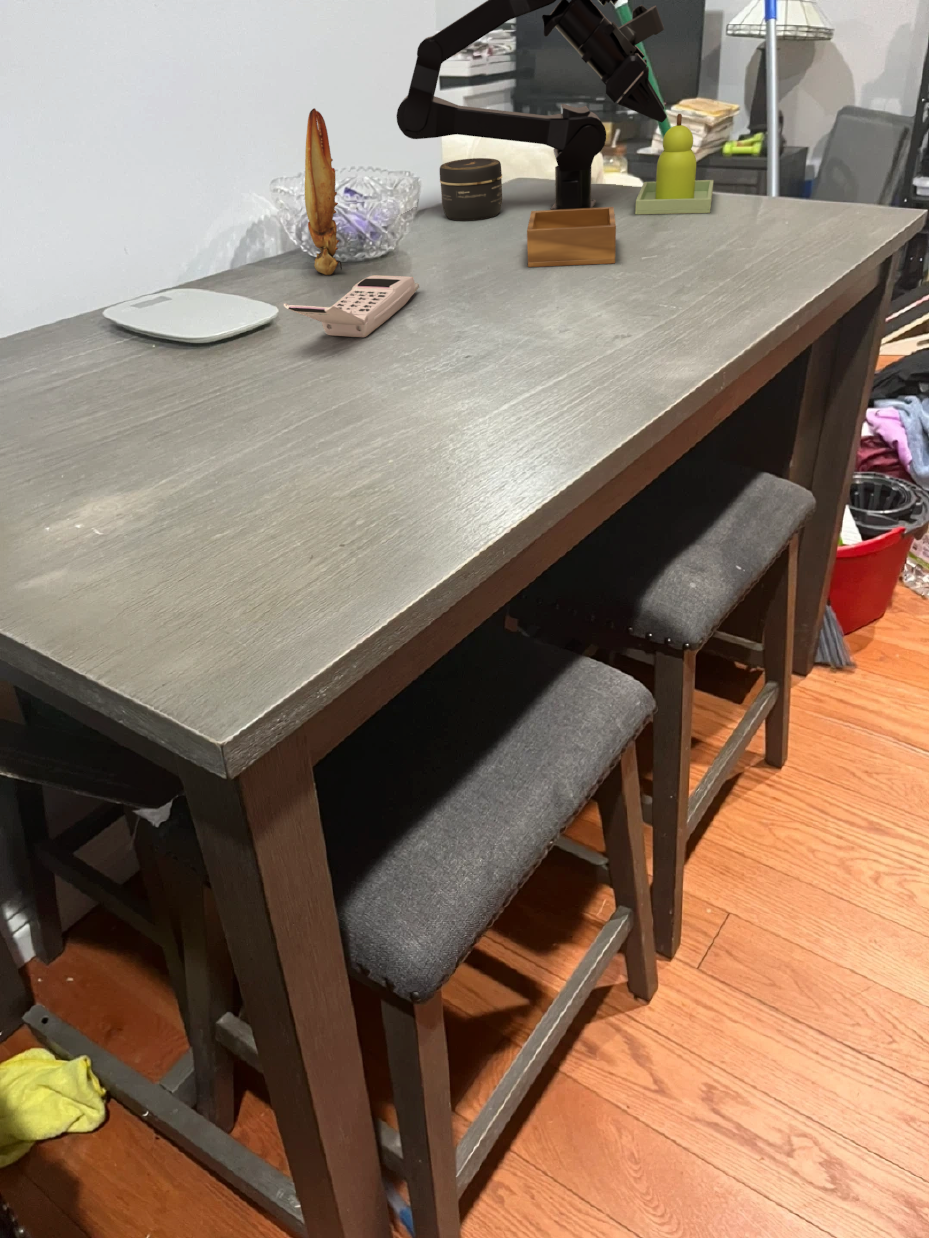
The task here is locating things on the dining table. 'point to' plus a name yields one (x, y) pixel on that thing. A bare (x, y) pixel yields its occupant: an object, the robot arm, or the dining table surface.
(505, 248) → the dining table surface
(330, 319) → the mobile phone
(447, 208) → the jar
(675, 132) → the pear
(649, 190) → the tray
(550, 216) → the wooden box
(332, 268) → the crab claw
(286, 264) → the dining table surface
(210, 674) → the dining table surface
